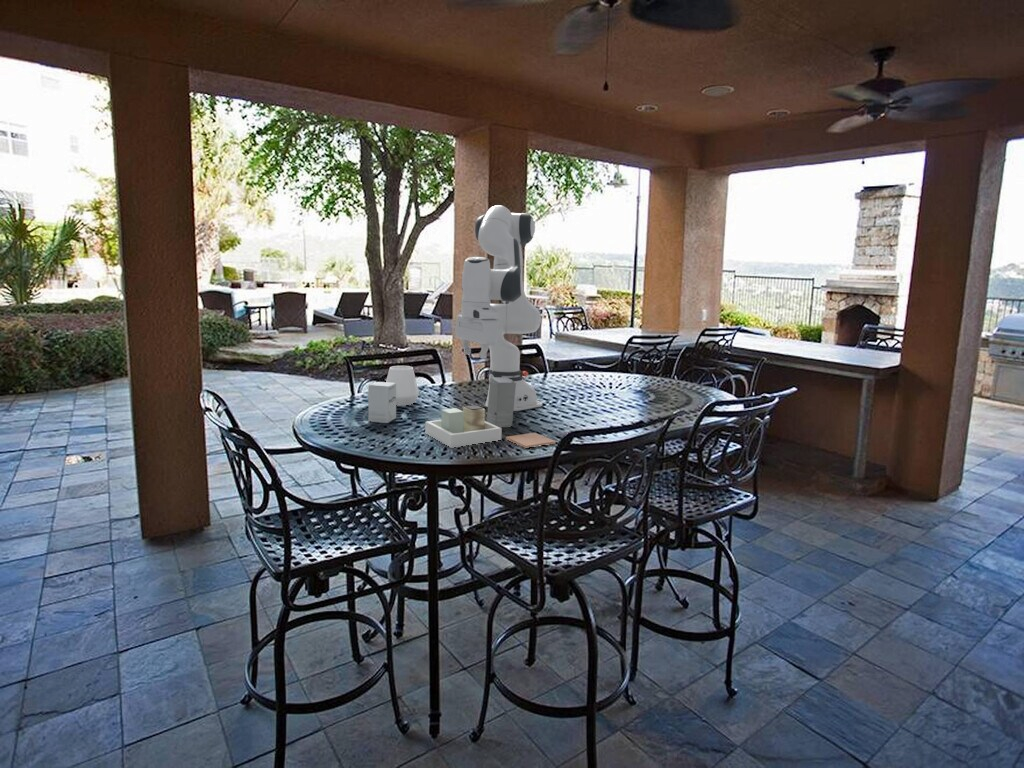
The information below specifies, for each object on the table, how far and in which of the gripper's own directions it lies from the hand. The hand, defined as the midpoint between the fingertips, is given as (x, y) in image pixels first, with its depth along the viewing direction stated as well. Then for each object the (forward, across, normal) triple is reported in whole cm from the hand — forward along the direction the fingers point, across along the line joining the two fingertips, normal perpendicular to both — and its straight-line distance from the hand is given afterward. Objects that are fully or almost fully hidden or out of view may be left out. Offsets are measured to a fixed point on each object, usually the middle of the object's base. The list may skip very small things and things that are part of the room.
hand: (474, 356), depth 192 cm
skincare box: (+26, -8, +15) cm, 31 cm away
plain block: (+25, 0, -7) cm, 26 cm away
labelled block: (+25, 0, 0) cm, 25 cm away
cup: (+25, -52, -2) cm, 58 cm away
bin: (+25, 0, -4) cm, 26 cm away
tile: (+25, +14, +12) cm, 32 cm away
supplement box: (+26, -31, -18) cm, 44 cm away
